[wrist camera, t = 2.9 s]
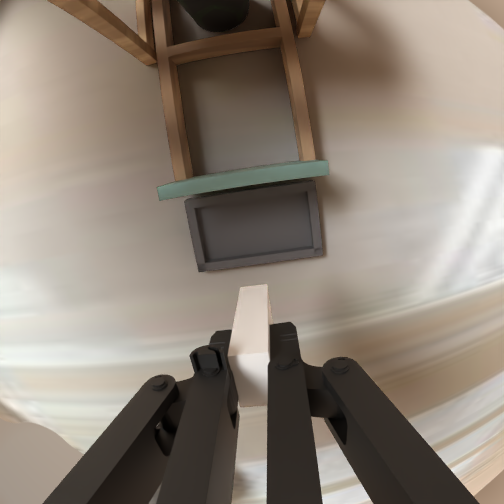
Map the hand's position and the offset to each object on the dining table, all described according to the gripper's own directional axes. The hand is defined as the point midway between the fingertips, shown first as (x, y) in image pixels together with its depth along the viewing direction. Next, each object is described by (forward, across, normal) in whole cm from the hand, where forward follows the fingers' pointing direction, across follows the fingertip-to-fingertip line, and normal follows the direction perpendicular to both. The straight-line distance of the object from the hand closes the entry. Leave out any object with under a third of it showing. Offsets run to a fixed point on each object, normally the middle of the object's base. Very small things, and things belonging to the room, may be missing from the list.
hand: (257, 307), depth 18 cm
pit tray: (+14, 0, +2) cm, 14 cm away
